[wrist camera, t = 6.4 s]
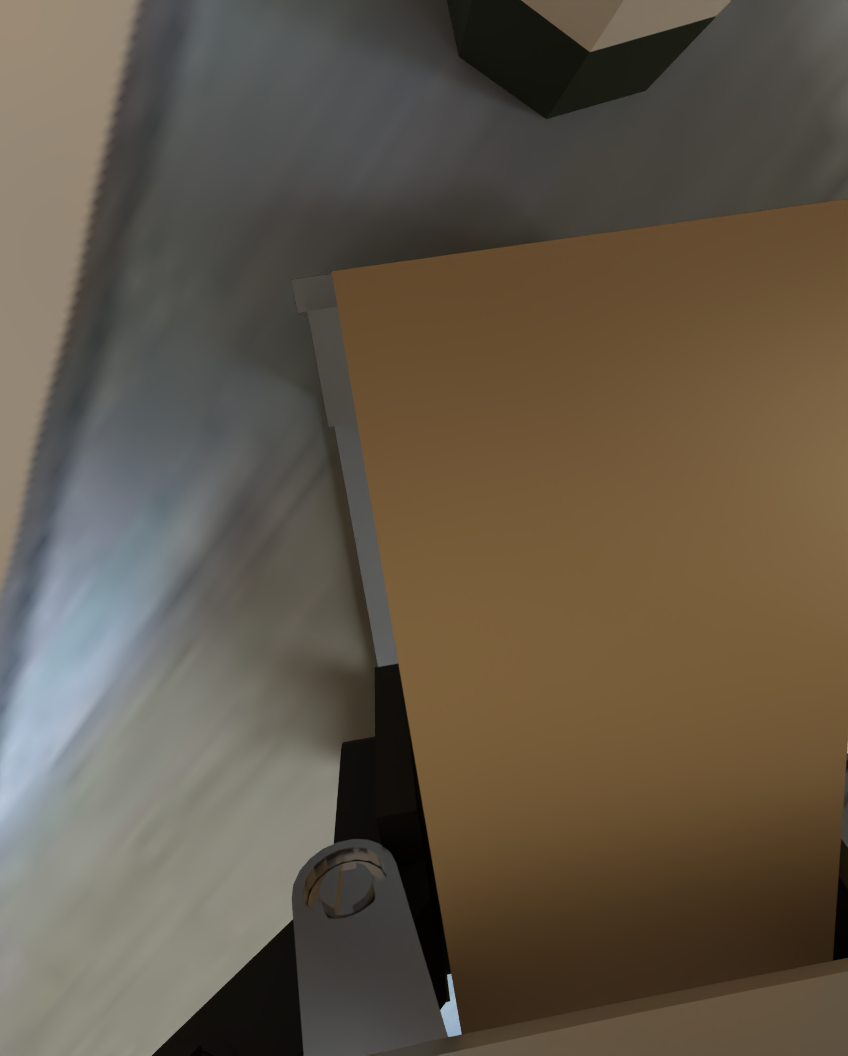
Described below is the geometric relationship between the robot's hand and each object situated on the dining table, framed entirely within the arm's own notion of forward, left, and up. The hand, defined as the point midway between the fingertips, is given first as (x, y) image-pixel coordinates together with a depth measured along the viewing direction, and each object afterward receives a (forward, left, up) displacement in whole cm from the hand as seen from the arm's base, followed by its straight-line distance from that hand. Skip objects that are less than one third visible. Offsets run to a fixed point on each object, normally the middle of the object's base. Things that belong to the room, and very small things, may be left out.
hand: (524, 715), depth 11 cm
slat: (0, 0, -1) cm, 1 cm away
